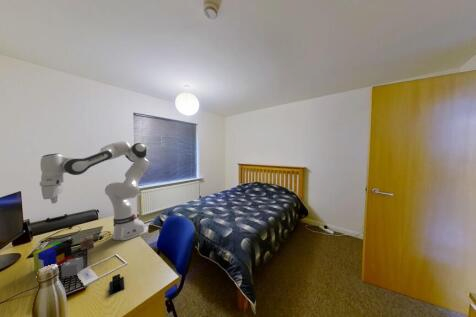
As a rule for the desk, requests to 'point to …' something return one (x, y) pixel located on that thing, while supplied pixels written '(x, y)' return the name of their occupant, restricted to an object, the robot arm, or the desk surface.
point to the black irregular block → (116, 284)
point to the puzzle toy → (52, 255)
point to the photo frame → (89, 276)
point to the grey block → (72, 267)
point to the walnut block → (87, 242)
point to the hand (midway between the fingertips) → (54, 202)
